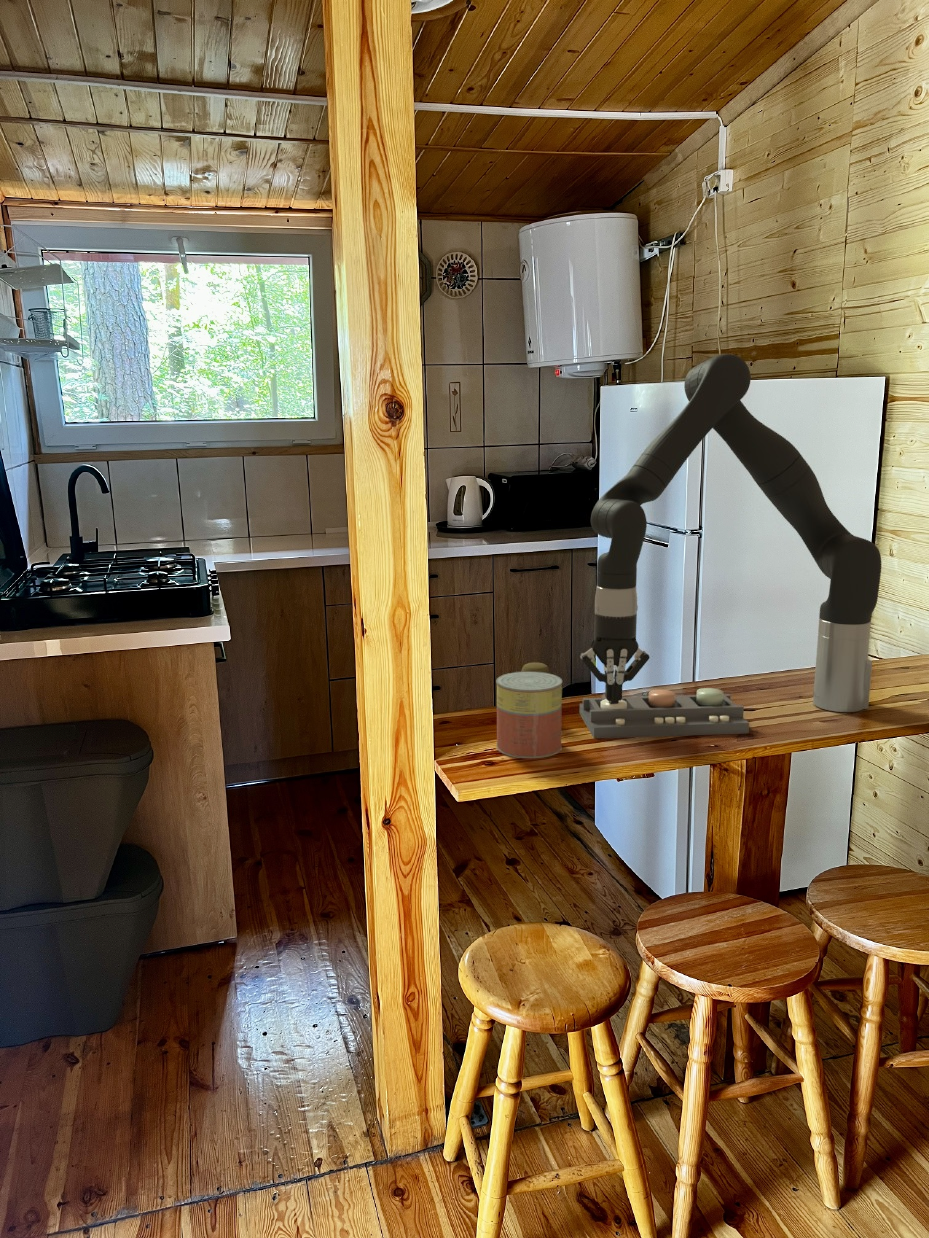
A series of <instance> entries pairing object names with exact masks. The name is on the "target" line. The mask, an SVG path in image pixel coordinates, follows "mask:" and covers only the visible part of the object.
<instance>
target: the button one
mask: <svg viewBox="0 0 929 1238" xmlns="http://www.w3.org/2000/svg"><path fill="white" fill-rule="evenodd" d="M600 709H601V710H603V709H627V702H626V701H624V700H621V701H619V703H618V704H610V702H609V701H608V700H607V699H604V700H602V701H601V706H600Z"/></svg>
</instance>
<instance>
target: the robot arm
mask: <svg viewBox="0 0 929 1238" xmlns="http://www.w3.org/2000/svg"><path fill="white" fill-rule="evenodd" d="M751 378H752V377H751V371H750V369H749V366H748V364H747V363H746V361H745V359H743V358H741V357H740V356H738V355H735V354H732V353H724V354H719V355H716V356H713V357H711V358H709V359H707V360H704V361H703V362H701V363H699V364H697V365H695V366H694V367H692V368H691V369H690V370H689V371H688V372H687V374H686V376H685V379H684V394H685V396H686V399H687V401H688V403H687V404H686V405H685V407H684V408H683V409H682V410H681V412H679V414H678V415H677V416H676V417H675V418H674V419H673V420H672V421H671V422H670V423H669V424H668V425H667V426H666V427H665V428H664V429H663V430H662V431H661V432H660V433H659V434H658V435H657V436H656V437H655V438H653V440H652V441H651V442H650V443H649V444H648V446H647V447H646V448H645V449H644V451H643V452H642V453H641V454H640V456H639V457H638V459H637V460H636V461H635V463H633V465H632V467H631V468H630V469H629V471H628V472H627V474H626V475H624V477H622V478H621V479H620V480H618V481H617V482H616V483H615V484H614V485H613V486H612V487H610V488H609V489H608V490H607V491H606V492H605V493H604V494H603V495H602V496H601V497H600V498H599V499H598V500H597V502H596V503H595V505H594V506H593V509H592V511H591V515H590V525H591V527H592V530H593V531H594V533H596V534H597V535H599V536H601V537H603V538H607V539H611V541H610V546H609V550H608V552H604V553H602V554H600V555H599V557H598V558H597V559H598V560H597V564H596V565H597V566H596V589H595V590H596V591H595V597H594V628H593V629H594V630H593V640H592V642H591V644H590V648H589V649H588V650H587V651H585V652H581V653H580V654H579V658H580V660H581V661H582V662H583V664H584V665H586V667H587V668H588V669H589V671H590V673H592V674H593V676H594V677H595V678H596V679H597V681H598V682H603V683H604V685H605V689H604V692H605V695H604V698H606V699H607V700H608V701H609V702H610V704H618V703H619V701H621V699H622V697H623V684H624V683H626V682H628V681H629V682H632V680H634V678H635V677H636V676H637V674H639V672H640V671H641V669H642V668H643V667H644V666H645V664H646V663H647V662H648V661H649V660H650V655H649V654H648V653H647V652H646V651H645V650H642V649H641V648H639V646H640V645H639V643H638V641H637V620H638V615H637V614H638V608H639V606H638V593H637V574H638V573H637V572H638V568H637V567H638V566H637V565H638V561H639V558H640V555H641V552H642V547H643V544H644V540H645V537H646V535H647V534H646V532H647V525H648V524H647V523H648V522H647V521H648V520H647V516H646V513H645V510H644V508H643V507H642V505H643V504H646V503H649V502H653V501H656V500H657V499H658V498H659V497H660V496H661V495H662V494H663V493H664V491H665V490H666V488H667V487H668V486H669V484H670V483H671V481H672V480H673V479H674V477H675V476H676V474H677V473H678V472H679V471H680V469H681V468H682V466H683V465H684V464H685V462H686V461H687V460H688V458H689V457H690V456H691V455H692V453H693V452H694V451H695V449H696V448H697V446H699V444H701V442H702V440H704V438H705V437H706V436H707V435H708V433H709V432H710V431H711V430H712V429H713V430H714V431H715V432H716V433H717V434H718V436H719V437H720V438H721V439H722V440H723V441H724V442H725V444H726V445H727V446H728V447H729V449H730V450H731V451H732V453H733V454H734V455H735V457H736V458H737V459H738V461H739V462H740V463H741V464H742V465H743V467H744V468H745V470H746V471H747V472H748V473H749V474H750V476H751V477H752V479H753V481H754V482H755V483H756V485H757V486H758V487H759V489H760V490H761V492H763V494H764V495H765V497H766V498H767V499H768V501H770V503H771V504H772V505H773V506H774V507H775V509H776V510H777V511H778V512H779V513H780V514H781V515H782V517H783V518H784V519H785V521H787V522H788V523H789V524H790V526H791V527H792V528H793V529H794V530H795V531H796V533H797V535H799V537H800V539H801V540H802V541H803V543H804V544H805V546H806V548H807V550H808V552H809V554H811V556H812V558H813V559H814V562H815V563H816V565H817V567H818V568H819V570H820V571H821V572H822V574H824V575H825V577H827V578H828V579H830V582H829V592H828V597H827V599H826V600H825V601H823V602H822V603H821V604H820V607H819V613H818V614H819V615H818V616H819V617H818V630H817V631H818V632H817V645H816V657H815V659H816V660H815V669H814V670H815V671H814V684H813V693H812V694H813V696H812V697H813V699H812V703H813V705H814V706H815V707H817V708H819V709H821V710H822V709H823V710H826V711H830V712H838V713H839V712H840V713H854V712H859V711H863V710H869V702H870V690H871V682H872V681H871V680H872V670H873V669H872V668H873V661H872V660H871V659H869V649H870V639H871V638H870V636H871V626H872V615H873V612H874V610H875V609H876V606H877V605H878V604H877V602H878V598H879V593H880V592H879V590H880V585H881V584H880V582H881V574H882V556H881V551H880V550H879V548H878V547H877V545H876V544H875V543H873V542H872V541H871V540H868V539H866V538H862V537H859V536H856V535H854V534H852V533H851V532H850V531H849V530H848V529H847V528H846V527H845V526H844V525H843V524H842V523H841V522H840V520H839V519H838V518H837V517H836V516H835V514H833V513H834V512H832V511H831V509H830V507H829V506H828V503H827V502H826V500H825V497H824V494H823V491H822V488H821V485H820V483H819V480H818V478H817V476H816V474H815V472H814V470H813V469H812V468H811V466H810V465H809V463H808V462H807V460H806V459H805V458H804V456H803V455H802V454H801V453H800V451H799V450H798V449H797V448H796V446H795V445H794V444H792V443H791V442H790V441H789V440H788V439H786V437H784V436H783V435H781V434H780V433H778V432H777V431H775V430H773V429H772V428H771V427H768V426H767V425H765V424H764V423H762V422H761V421H760V420H758V419H757V418H756V417H755V416H754V415H753V414H752V413H751V412H750V411H749V410H748V408H747V407H746V405H744V403H743V402H742V399H743V398H744V397H745V395H746V394H747V393H748V390H749V389H750V385H751V380H752V379H751ZM594 655H596V657H597V658H598V660H599V662H601V663H602V666H603V671H604V673H602V672H601V671H600V670H599V669H598V667H597V666H596V665H595V663H594V662H595V660H596V658H595V656H594ZM632 658H633V661H632V662H631V663H630V664H629V666H627V668H626V665H627V664H628V663H629V662H630V661H631V659H632Z"/></svg>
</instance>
